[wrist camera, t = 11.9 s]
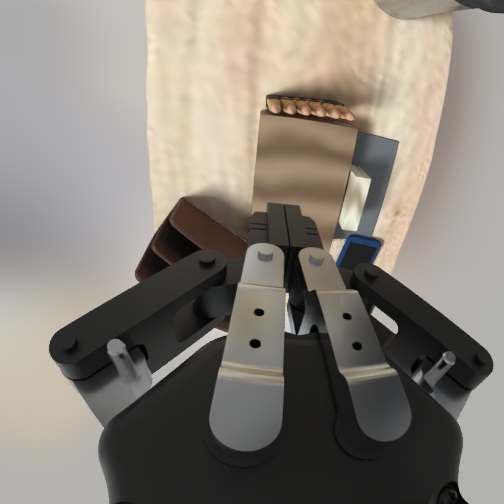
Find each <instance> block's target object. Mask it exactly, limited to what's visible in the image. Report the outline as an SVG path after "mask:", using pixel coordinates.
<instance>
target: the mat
mask: <svg viewBox="0 0 504 504" xmlns="http://www.w3.org/2000/svg"><path fill="white" fill-rule="evenodd" d="M397 146H398V141H395V140H391V139H387V138H383V137H379V136H374V135H370V134H366V133H361V132H358V133H357V138H356V143H355V148H354V153H353V158H352V162H351V165H357V166H360V167H361V168H362V170H363V171H364V172H365V173H366V174H367V175H368V176H369V177H370V178H371V182H370V186H369V190H368V193H367V197H366V201H365V204H364V208H363V211H362V215H361V218H360V221H359V225H358V228H357V231H351V230H342V228H341V226H340V223H339V221H337V225H336V228H335V232H334V236H333V238H340V239H347V238H348V236H350V235H355V236H359V237H364V238H368V239H371V236H372V233H373V230H374V227H375V224H376V221H377V218H378V215H379V212H380V208H381V205H382V202H383V199H384V195H385V192H386V188H387V185H388V181H389V178H390V174H391V170H392V166H393V163H394V159H395V155H396V151H397Z"/></svg>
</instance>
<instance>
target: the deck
mask: <svg viewBox="0 0 504 504" xmlns="http://www.w3.org/2000/svg"><path fill="white" fill-rule="evenodd" d="M357 133H358V129H357V128H356V127H354V126H353V125H351V124H347V123H342V122H337V121H332V120H326V119H320V118H314V117H308V116H301V115H293V114H286V113H273V112H268V111H261V113H260V123H259V134H258V144H257V155H256V165H255V176H254V187H253V197H252V208H251V215H252V214H253V213H254V212H255V211H257V212H266V208H267V202H271V203H281V204H283V205H284V204H291V205H299V206H300V209H301V213H302V216H309V217H310V218H311V219H312V220H313V221H314V222H315V223H316V226H317V230H318V232H319V235H320V238H321V242H322V245H323V248H324V250H325V251H327V252H328V253H329V250H330V247H331V243H332V239H333V236H334V232H335V228H336V225H337V221H338V217H339V213H340V209H341V205H342V201H343V197H344V193H345V189H346V184H347V180H348V176H349V171H350V167H351V162H352V158H353V153H354V148H355V143H356V138H357Z"/></svg>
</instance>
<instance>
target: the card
mask: <svg viewBox="0 0 504 504" xmlns="http://www.w3.org/2000/svg"><path fill="white" fill-rule="evenodd" d="M370 182H371V178H370V177H369V176H368V175H367V174H366V173H365V172H364V171H363V170H362V168H361V167H360V166H357V165H351V167H350V171H349V176H348V180H347V184H346V189H345V193H344V197H343V201H342V205H341V209H340V213H339V217H338V221H339V223H340V226H341V228H342V230H351V231H357V228H358V225H359V221H360V218H361V215H362V211H363V208H364V204H365V201H366V197H367V193H368V190H369V186H370Z"/></svg>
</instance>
